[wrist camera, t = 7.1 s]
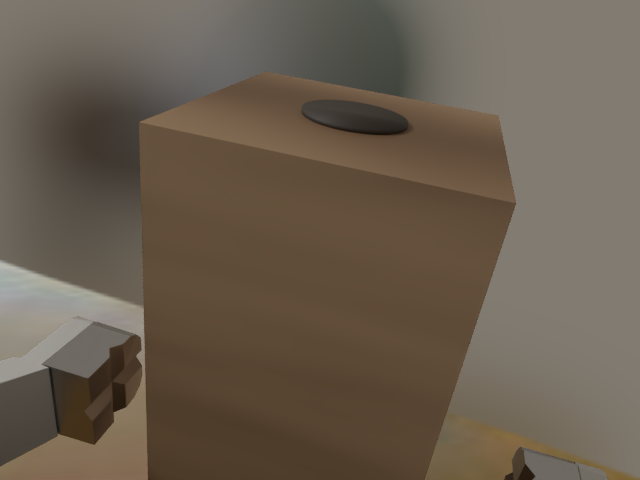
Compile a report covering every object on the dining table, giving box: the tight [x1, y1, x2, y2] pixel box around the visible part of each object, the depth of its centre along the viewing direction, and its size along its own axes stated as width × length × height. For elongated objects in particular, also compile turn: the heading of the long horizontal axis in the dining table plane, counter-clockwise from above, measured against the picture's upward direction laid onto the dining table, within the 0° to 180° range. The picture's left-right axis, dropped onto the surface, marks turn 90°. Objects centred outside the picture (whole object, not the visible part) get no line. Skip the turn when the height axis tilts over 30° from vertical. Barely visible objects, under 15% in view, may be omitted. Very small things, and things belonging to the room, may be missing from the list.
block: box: [139, 72, 516, 480], centre depth 12 cm, size 5×5×14 cm
